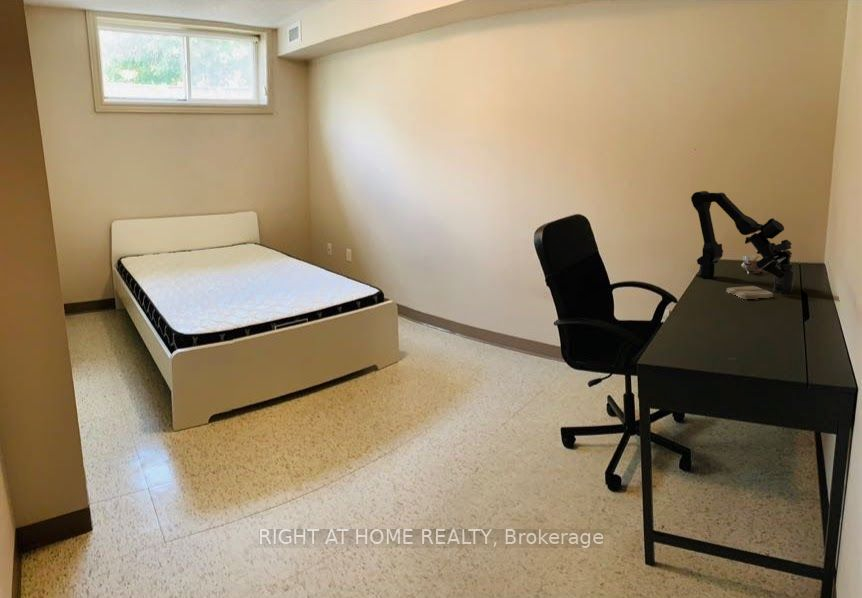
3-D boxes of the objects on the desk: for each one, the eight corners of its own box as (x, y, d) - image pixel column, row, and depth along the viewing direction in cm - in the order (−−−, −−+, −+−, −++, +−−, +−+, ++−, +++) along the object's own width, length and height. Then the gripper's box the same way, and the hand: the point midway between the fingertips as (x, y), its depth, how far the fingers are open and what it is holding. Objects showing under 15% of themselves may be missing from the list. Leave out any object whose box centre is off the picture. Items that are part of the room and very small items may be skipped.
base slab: (726, 292, 249) (726, 287, 249) (752, 290, 251) (753, 285, 250) (745, 300, 238) (745, 295, 237) (772, 298, 239) (773, 292, 239)
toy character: (757, 282, 278) (735, 271, 276) (752, 272, 284) (731, 261, 283) (773, 266, 271) (750, 255, 270) (768, 256, 278) (746, 245, 277)
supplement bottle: (795, 293, 244) (799, 265, 241) (778, 294, 244) (782, 265, 241) (786, 289, 251) (790, 261, 247) (769, 289, 251) (773, 261, 248)
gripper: (767, 236, 239) (793, 268, 233) (789, 230, 249) (814, 260, 244) (745, 253, 247) (770, 283, 242) (768, 246, 258) (791, 276, 252)
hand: (787, 275), depth 245 cm, fingers open, 9 cm apart
